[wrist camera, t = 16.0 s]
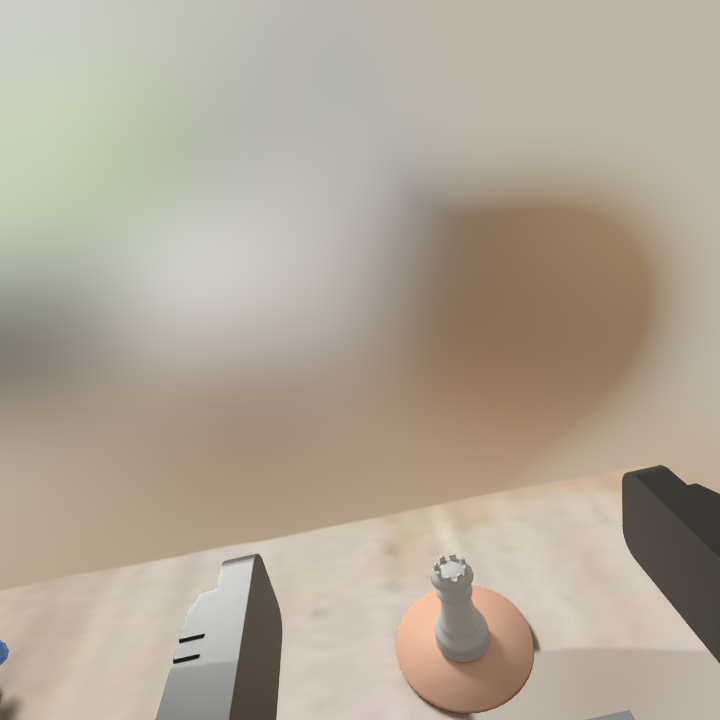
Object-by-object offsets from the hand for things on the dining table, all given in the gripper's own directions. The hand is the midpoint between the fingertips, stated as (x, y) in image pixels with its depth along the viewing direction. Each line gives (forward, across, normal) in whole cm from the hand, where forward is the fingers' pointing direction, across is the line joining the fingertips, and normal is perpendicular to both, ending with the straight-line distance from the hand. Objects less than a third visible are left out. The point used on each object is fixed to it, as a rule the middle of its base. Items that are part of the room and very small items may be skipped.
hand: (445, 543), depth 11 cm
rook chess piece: (+20, -2, +30) cm, 36 cm away
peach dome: (+21, -2, +30) cm, 36 cm away
